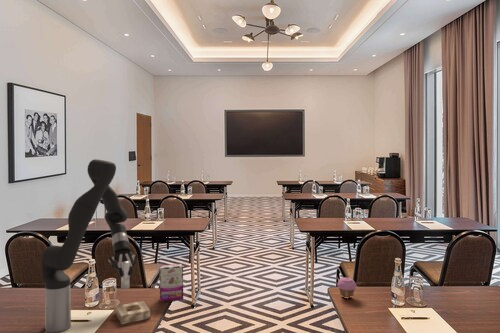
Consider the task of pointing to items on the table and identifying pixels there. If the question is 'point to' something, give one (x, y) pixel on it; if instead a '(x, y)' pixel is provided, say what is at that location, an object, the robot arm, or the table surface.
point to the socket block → (132, 312)
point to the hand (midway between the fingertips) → (126, 275)
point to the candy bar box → (171, 282)
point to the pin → (125, 274)
